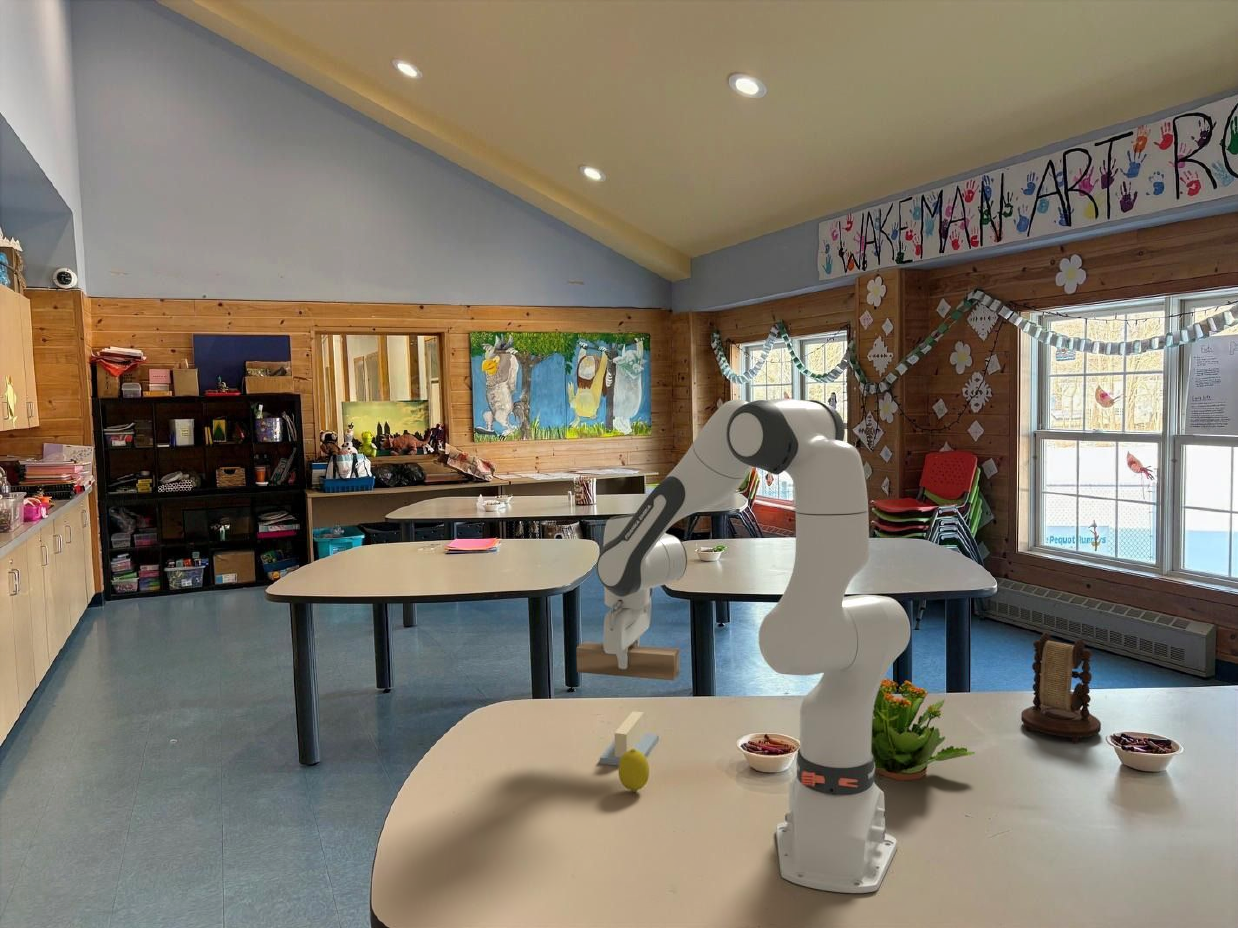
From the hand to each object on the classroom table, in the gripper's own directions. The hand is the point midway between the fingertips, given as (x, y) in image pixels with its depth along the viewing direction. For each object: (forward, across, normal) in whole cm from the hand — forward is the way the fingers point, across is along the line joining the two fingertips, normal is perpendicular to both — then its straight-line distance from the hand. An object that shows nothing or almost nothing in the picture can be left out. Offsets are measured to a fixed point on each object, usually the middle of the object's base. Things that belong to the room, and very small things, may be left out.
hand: (628, 663), depth 178 cm
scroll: (+18, +33, -83) cm, 91 cm away
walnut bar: (+2, 0, 0) cm, 2 cm away
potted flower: (+18, +4, -52) cm, 55 cm away
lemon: (+18, -17, -6) cm, 26 cm away
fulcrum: (+18, 0, 0) cm, 18 cm away
